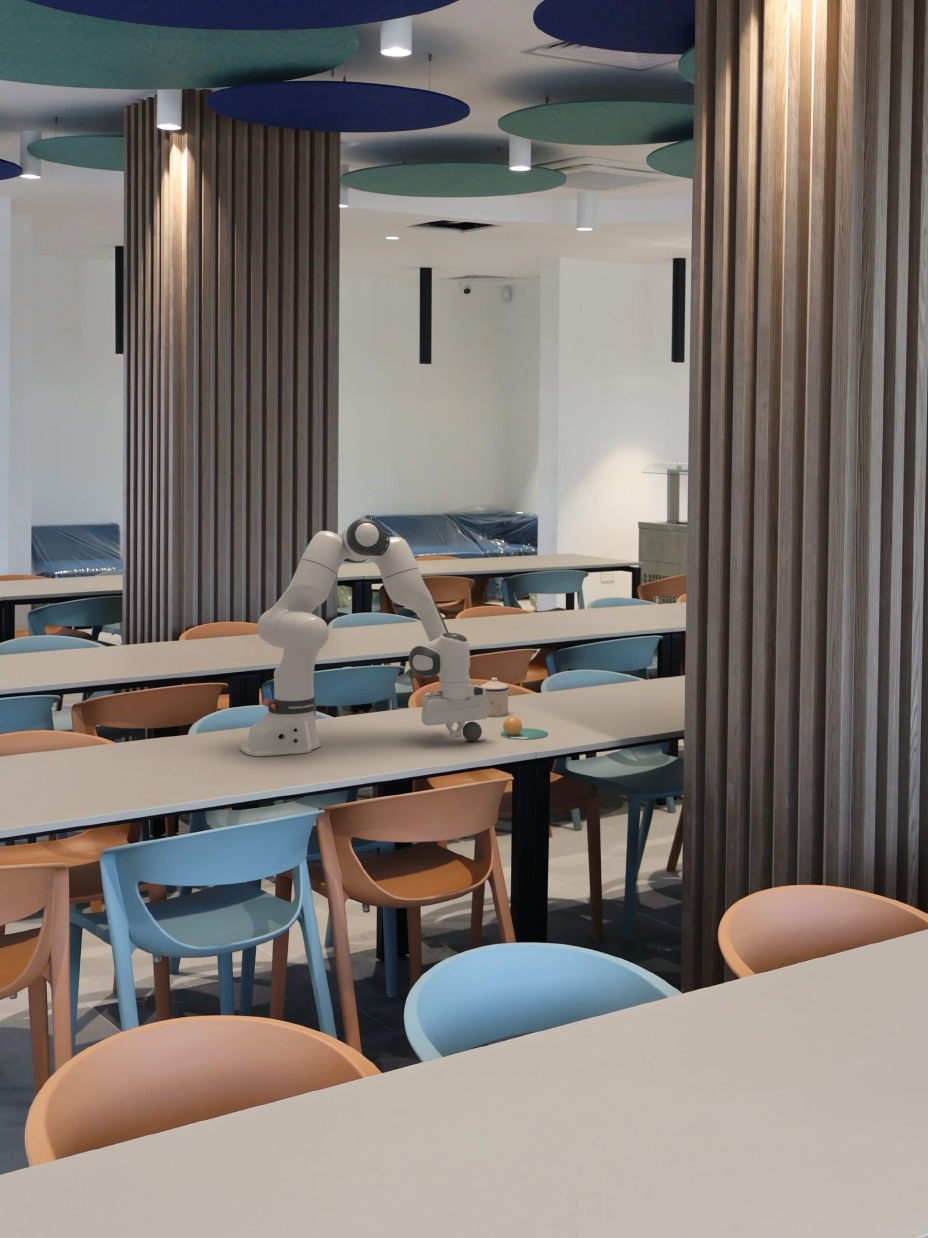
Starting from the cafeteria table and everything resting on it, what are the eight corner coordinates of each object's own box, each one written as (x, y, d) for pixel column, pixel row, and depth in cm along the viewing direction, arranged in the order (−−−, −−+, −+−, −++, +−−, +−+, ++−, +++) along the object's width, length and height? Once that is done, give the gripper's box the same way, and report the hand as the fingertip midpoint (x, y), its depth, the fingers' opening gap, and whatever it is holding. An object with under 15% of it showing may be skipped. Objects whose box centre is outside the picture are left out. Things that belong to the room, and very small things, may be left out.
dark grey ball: (481, 720, 366) (487, 738, 367) (473, 716, 371) (478, 733, 372) (465, 729, 364) (471, 746, 365) (456, 724, 369) (462, 742, 370)
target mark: (515, 741, 367) (515, 740, 367) (492, 732, 379) (492, 731, 379) (557, 736, 374) (557, 735, 374) (532, 727, 386) (532, 726, 386)
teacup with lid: (499, 710, 412) (499, 674, 410) (513, 715, 404) (513, 678, 403) (467, 714, 406) (466, 678, 405) (481, 719, 398) (480, 682, 397)
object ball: (522, 715, 372) (527, 733, 374) (513, 712, 377) (518, 729, 379) (507, 723, 370) (512, 740, 371) (497, 719, 375) (502, 736, 376)
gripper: (427, 695, 356) (427, 743, 358) (491, 688, 366) (491, 735, 368) (417, 691, 362) (417, 739, 364) (480, 685, 371) (480, 731, 373)
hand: (455, 737), depth 366 cm, fingers closed
